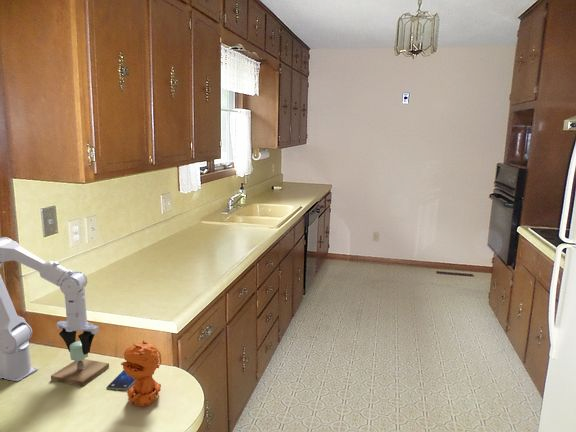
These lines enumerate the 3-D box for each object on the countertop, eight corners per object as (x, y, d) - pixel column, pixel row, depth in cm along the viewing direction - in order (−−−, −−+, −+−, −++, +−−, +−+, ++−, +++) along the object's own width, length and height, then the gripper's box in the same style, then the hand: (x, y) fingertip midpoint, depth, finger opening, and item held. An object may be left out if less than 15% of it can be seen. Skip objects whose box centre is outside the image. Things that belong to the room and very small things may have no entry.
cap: (67, 359, 140) (65, 346, 139) (78, 352, 144) (77, 339, 144) (80, 361, 138) (79, 348, 138) (91, 354, 143) (90, 341, 142)
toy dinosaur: (122, 394, 131) (118, 337, 128) (160, 386, 135) (157, 331, 132) (124, 415, 121) (120, 353, 118) (165, 406, 125) (162, 346, 122)
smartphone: (104, 388, 133) (129, 363, 148) (104, 390, 134) (129, 366, 148) (127, 389, 132) (149, 364, 147) (127, 392, 133) (150, 367, 147)
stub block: (51, 380, 138) (50, 367, 138) (79, 362, 150) (78, 349, 149) (82, 386, 135) (81, 372, 134) (109, 367, 146) (108, 354, 146)
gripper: (47, 313, 137) (51, 354, 139) (86, 318, 133) (89, 360, 135) (64, 305, 144) (68, 344, 146) (102, 310, 140) (104, 350, 142)
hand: (79, 351), depth 141 cm, fingers closed on cap, 5 cm apart
